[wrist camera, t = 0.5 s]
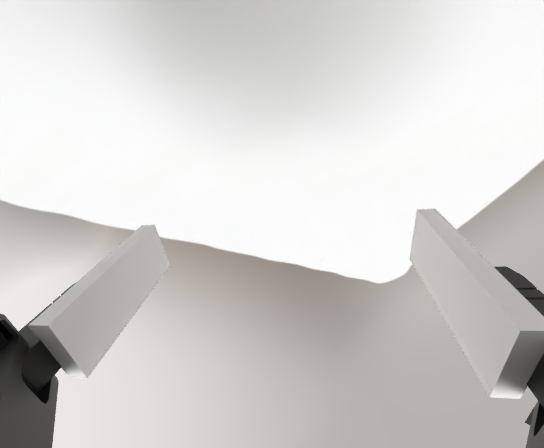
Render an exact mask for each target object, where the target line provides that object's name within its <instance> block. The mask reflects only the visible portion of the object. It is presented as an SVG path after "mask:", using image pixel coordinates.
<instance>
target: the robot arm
mask: <svg viewBox="0 0 544 448" xmlns="http://www.w3.org/2000/svg"><path fill="white" fill-rule="evenodd" d="M410 260H411V262H412V264H413V266H414V267H415V269H416V271H417V272H418V274H419V276H420V278H421V279H422V281H423V283H424V285H425V286H426V288H427V290H428V291H429V293H430V295H431V297H432V298H433V300H434V302H435V303H436V305H437V307H438V309H439V311H440V312H441V314H442V316H443V317H444V319H445V321H446V323H447V324H448V326H449V328H450V329H451V331H452V333H453V335H454V336H455V338H456V340H457V342H458V343H459V345H460V347H461V349H462V350H463V352H464V353H465V356H466V357H467V359H468V361H469V362H470V364H471V366H472V367H473V369H474V371H475V373H476V375H477V376H478V378H479V380H480V381H481V383H482V385H483V387H484V388H485V390H486V392H487V393H488V395H489V397H496V398H516V399H520V398H521V397H522V395H523V393H524V391H525V389H526V388H527V386H528V387H529V388H530V390H531V391H532V392H533V394H534V395H535V397H536V398H537V399H538V402H537V404H536V405H535V407H534V409H533V410H532V412H531V413H530V415H529V416H528V418H527V420H526V421H525V423H527V424H529V425H531V426H530V431H529V435H528V441H527V445H526V448H544V294H543V293H542V292H540V291H539V290H537V289H536V287H535V286H534V285H533V284H532V283H531V282H529V281H528V280H527V279H526V278H525V277H523V276H522V275H520V274H519V273H517V272H515V271H513V270H511V269H510V268H508V267H493V266H492V265H491V264H490V263H489V262H488V261H487V260H486V259H485V258H484V257H483V256H482V255H481V254H480V253H479V252H478V251H477V250H476V249H475V248H474V247H473V246H472V245H471V244H470V243H469V242H468V241H467V240H466V239H465V238H464V237H463V236H462V235H461V234H460V233H459V232H458V231H457V230H456V229H455V228H454V227H453V226H452V225H451V224H450V223H449V222H448V221H447V220H446V219H445V218H444V217H443V216H442V215H441V214H440V213H439V212H438V211H437V210H436V209H420V210H417V213H416V220H415V226H414V233H413V240H412V247H411V253H410ZM169 267H170V264H169V262H168V259H167V256H166V254H165V251H164V249H163V246H162V243H161V241H160V238H159V235H158V233H157V230H156V227H155V225H144V226H141V227H140V228H138V229H137V230H136V231H135V232H134V233H133V234H132V235H130V236H129V237H128V238H127V239H126V240H125V241H124V242H123V243H121V244H120V245H119V246H118V247H117V248H116V249H114V250H113V251H112V252H111V253H110V254H109V255H108V256H106V257H105V258H104V259H103V260H102V261H101V262H100V263H98V264H97V265H96V266H95V267H94V268H93V269H92V270H90V271H89V272H88V273H87V274H86V275H85V276H84V277H82V278H81V279H80V280H79V281H78V282H77V283H75V284H73V285H72V286H71V287H69V288H68V289H67V290H66V291H65V292H64V293H62V294H61V296H59V297H58V298H57V299H56V300H54V301H53V304H50V305H49V306H48V307H46V308H45V309H44V310H43V311H42V312H41V313H39V314H38V315H37V316H36V317H35V318H34V319H33V320H31V321H30V322H29V323H28V324H27V325H26V326H25V327H23V328H22V329H21V330H20V331H19V332H18V331H17V330H16V328H15V327H14V326H13V325H12V324H11V322H10V321H9V320H8V319H7V318H6V316H5V315H3V314H0V448H52V442H53V432H54V422H55V411H56V401H57V392H58V379H57V377H56V376H55V374H56V373H57V371H58V370H59V369H60V368H62V369H63V370H64V371H65V373H66V374H67V375H68V376H69V377H73V378H88V376H89V375H90V374H91V373H92V371H93V370H94V369H95V367H96V366H97V364H98V363H99V362H100V360H101V359H102V358H103V356H104V355H105V354H106V352H107V351H108V350H109V348H110V347H111V346H112V344H113V343H114V341H115V340H116V339H117V337H118V336H119V335H120V333H121V332H122V331H123V329H124V327H126V325H127V324H128V323H129V321H130V320H131V318H132V317H133V316H134V314H135V313H136V312H137V310H138V309H139V308H140V306H141V305H142V303H143V302H144V301H145V299H146V298H147V297H148V295H149V294H150V293H151V291H152V290H153V289H154V287H155V286H156V284H157V283H158V282H159V280H160V279H161V278H162V276H163V275H164V274H165V272H166V271H167V270H168V268H169Z"/></svg>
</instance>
